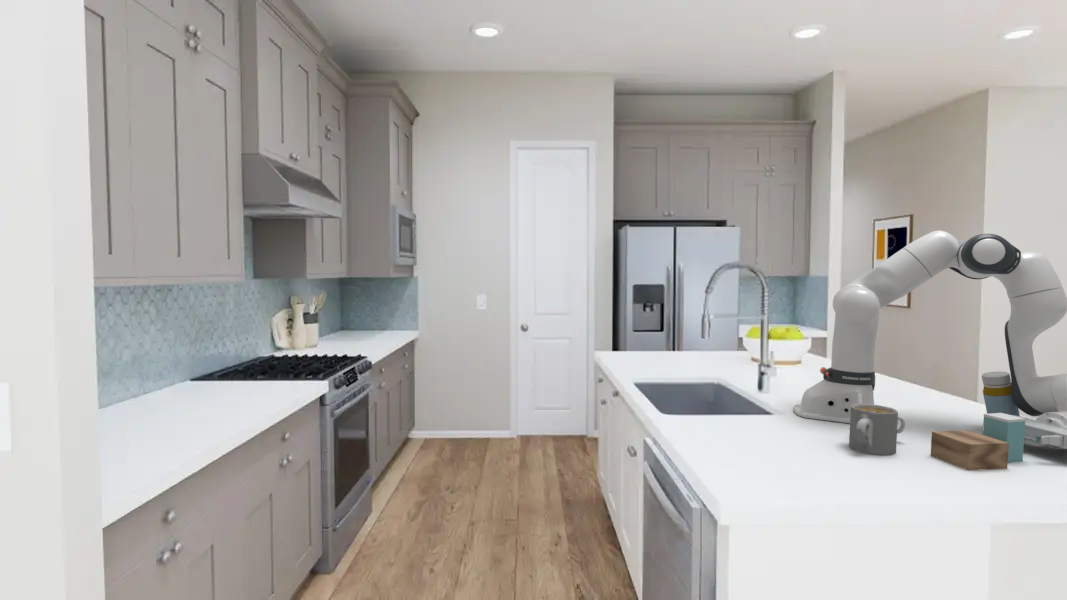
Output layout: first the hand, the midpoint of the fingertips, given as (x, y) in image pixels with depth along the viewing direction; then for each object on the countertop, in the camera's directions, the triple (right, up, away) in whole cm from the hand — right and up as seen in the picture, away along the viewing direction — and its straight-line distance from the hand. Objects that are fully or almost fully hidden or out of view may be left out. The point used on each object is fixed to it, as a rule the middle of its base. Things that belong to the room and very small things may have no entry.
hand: (1017, 433), depth 137 cm
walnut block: (-15, -6, -4) cm, 17 cm away
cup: (-26, -5, +12) cm, 29 cm away
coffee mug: (-33, -5, +4) cm, 34 cm away
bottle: (+17, -4, +24) cm, 29 cm away
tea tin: (-5, -5, -1) cm, 7 cm away
